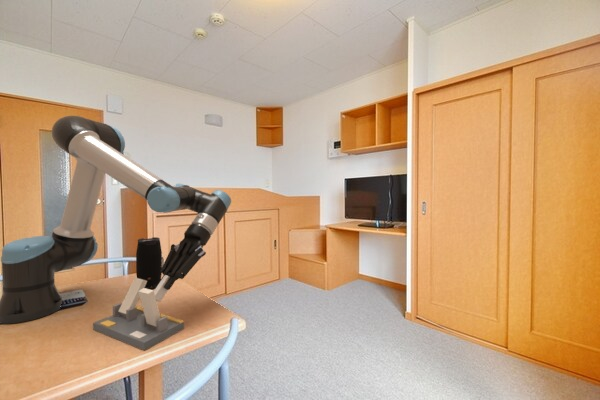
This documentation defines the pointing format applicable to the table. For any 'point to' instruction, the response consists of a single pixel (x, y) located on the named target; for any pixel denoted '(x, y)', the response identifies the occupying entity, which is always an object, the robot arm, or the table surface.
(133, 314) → the switch unit
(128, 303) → the paddle
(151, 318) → the paddle
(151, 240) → the portable speaker
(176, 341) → the table surface
